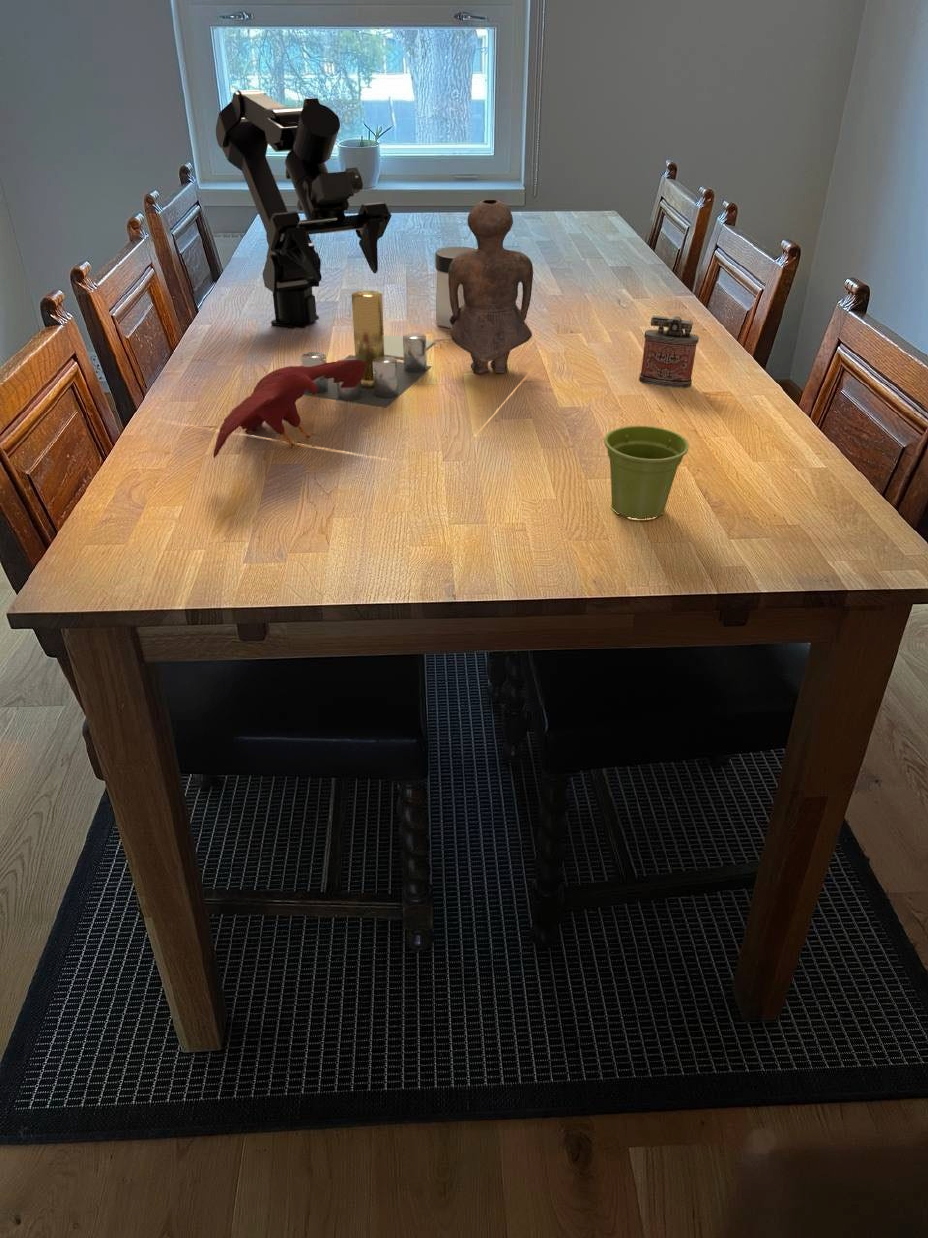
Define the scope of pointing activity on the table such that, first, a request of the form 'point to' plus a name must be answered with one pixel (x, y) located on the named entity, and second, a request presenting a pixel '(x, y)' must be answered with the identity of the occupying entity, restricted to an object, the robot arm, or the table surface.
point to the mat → (368, 394)
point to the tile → (397, 346)
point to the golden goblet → (368, 331)
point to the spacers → (377, 369)
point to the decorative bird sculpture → (285, 397)
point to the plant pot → (643, 468)
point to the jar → (446, 284)
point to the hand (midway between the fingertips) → (348, 275)
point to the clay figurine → (490, 291)
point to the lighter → (669, 353)
